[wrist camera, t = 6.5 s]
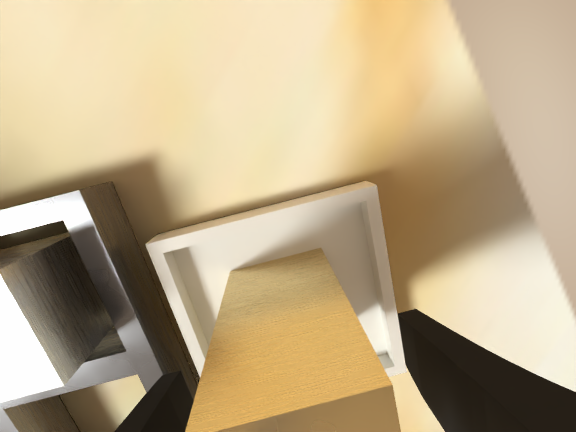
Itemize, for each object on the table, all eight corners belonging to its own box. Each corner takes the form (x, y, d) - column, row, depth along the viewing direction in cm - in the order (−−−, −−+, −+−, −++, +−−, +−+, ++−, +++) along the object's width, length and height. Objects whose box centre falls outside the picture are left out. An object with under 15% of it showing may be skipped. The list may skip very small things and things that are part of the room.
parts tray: (395, 353, 14) (406, 372, 13) (222, 398, 14) (218, 421, 13) (365, 180, 12) (376, 185, 11) (157, 234, 12) (145, 244, 11)
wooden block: (338, 325, 13) (416, 523, 6) (255, 347, 13) (243, 570, 6) (321, 247, 12) (391, 384, 5) (230, 271, 12) (182, 440, 5)
